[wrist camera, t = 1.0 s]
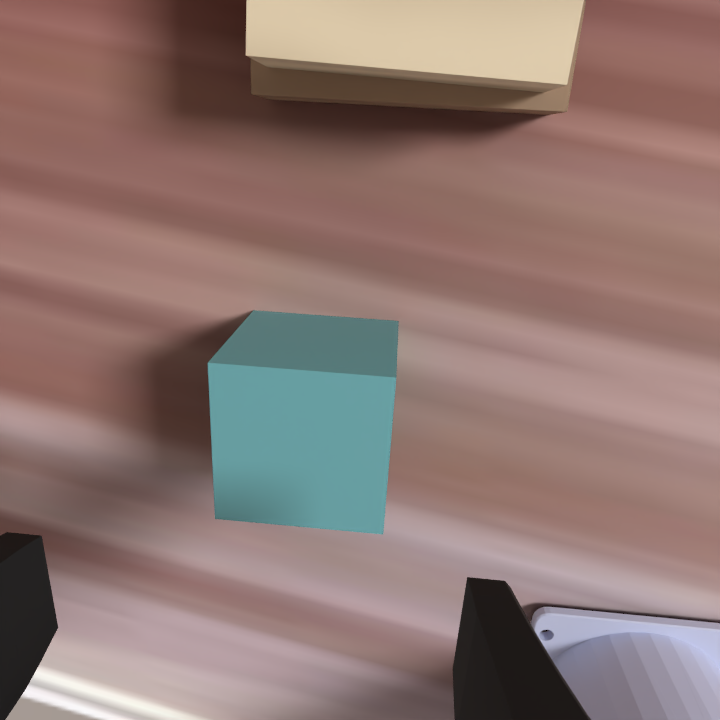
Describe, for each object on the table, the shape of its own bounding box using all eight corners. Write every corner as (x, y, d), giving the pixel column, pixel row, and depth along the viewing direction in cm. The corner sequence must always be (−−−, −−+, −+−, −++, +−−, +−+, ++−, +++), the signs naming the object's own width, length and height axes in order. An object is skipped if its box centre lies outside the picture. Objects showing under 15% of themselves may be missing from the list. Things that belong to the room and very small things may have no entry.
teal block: (387, 447, 19) (382, 534, 15) (256, 436, 19) (215, 518, 15) (398, 320, 18) (396, 377, 13) (254, 309, 18) (207, 362, 14)
